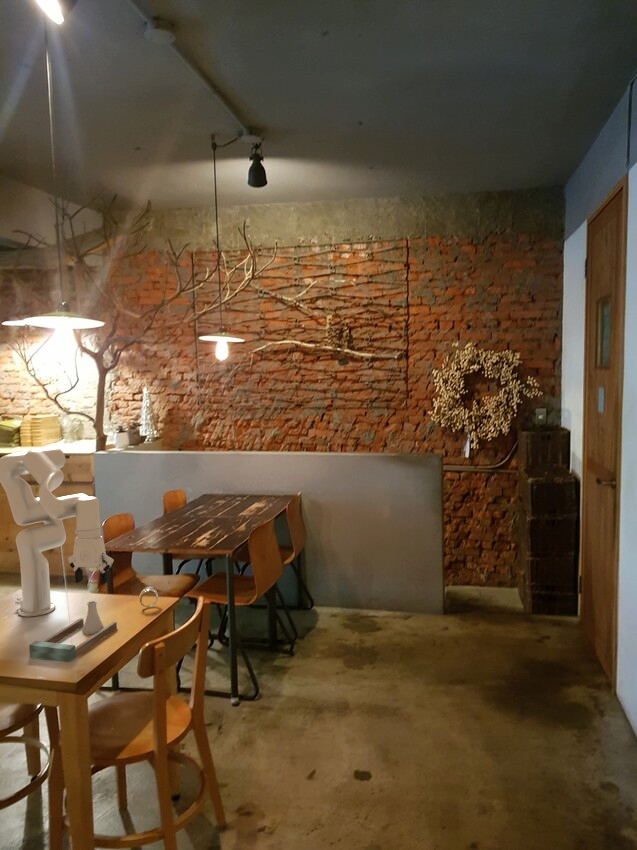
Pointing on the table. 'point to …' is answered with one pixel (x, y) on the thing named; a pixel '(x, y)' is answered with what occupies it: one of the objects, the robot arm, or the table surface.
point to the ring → (145, 593)
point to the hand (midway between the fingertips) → (91, 582)
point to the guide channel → (63, 651)
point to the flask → (92, 620)
